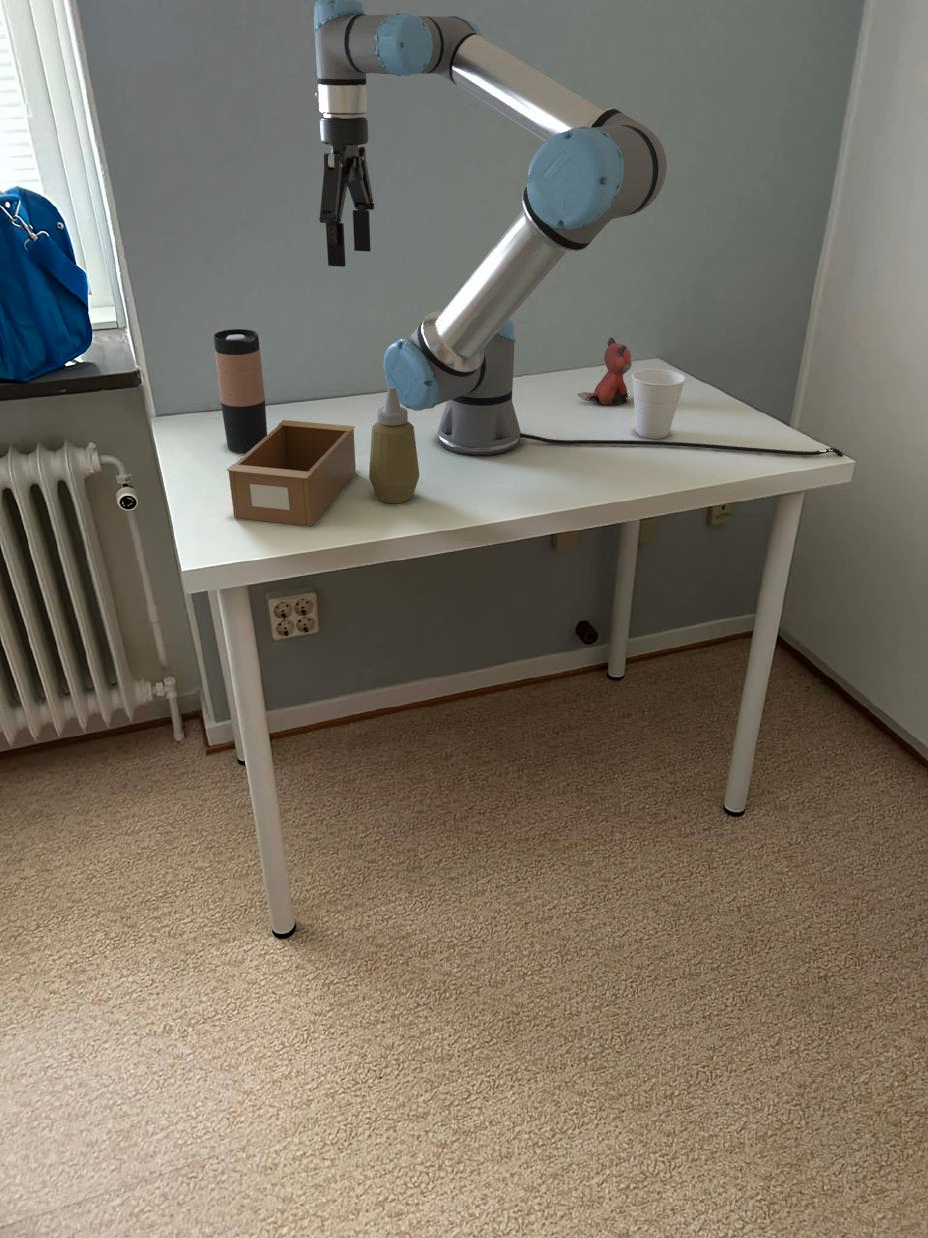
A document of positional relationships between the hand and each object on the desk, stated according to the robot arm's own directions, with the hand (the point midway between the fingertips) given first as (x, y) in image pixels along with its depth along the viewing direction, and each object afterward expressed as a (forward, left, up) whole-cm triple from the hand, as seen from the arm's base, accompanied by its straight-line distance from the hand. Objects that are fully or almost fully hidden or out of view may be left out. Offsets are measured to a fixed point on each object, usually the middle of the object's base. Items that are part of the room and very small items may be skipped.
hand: (350, 258), depth 161 cm
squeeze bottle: (-14, +24, -32) cm, 42 cm away
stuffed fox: (-42, -33, -32) cm, 62 cm away
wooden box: (+2, +27, -32) cm, 42 cm away
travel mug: (+18, +9, -32) cm, 38 cm away
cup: (-53, -16, -32) cm, 64 cm away
